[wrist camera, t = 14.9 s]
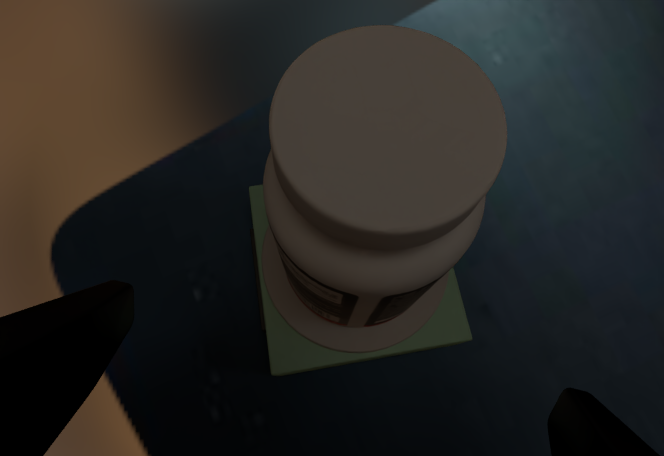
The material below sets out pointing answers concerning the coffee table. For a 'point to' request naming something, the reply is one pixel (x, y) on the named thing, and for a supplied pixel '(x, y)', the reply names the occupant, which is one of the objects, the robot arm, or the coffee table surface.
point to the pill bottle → (378, 169)
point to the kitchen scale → (335, 340)
